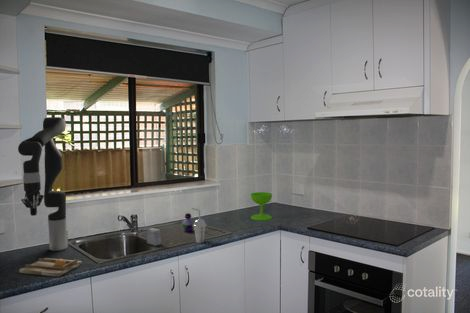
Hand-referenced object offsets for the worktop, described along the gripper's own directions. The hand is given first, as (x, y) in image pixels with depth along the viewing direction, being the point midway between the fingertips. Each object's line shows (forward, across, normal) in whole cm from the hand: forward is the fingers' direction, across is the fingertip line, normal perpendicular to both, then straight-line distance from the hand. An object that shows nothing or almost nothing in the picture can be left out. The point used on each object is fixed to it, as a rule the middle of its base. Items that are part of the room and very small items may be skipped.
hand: (33, 215), depth 197 cm
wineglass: (+25, -122, +94) cm, 156 cm away
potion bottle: (+25, -74, +54) cm, 95 cm away
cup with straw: (+25, -54, +69) cm, 91 cm away
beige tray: (+25, +4, +12) cm, 28 cm away
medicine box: (+25, -44, +44) cm, 67 cm away
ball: (+22, +4, +18) cm, 29 cm away
